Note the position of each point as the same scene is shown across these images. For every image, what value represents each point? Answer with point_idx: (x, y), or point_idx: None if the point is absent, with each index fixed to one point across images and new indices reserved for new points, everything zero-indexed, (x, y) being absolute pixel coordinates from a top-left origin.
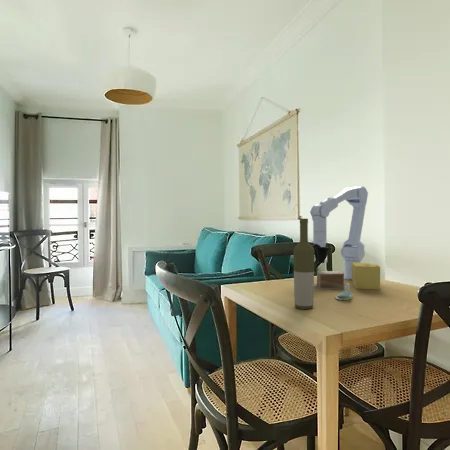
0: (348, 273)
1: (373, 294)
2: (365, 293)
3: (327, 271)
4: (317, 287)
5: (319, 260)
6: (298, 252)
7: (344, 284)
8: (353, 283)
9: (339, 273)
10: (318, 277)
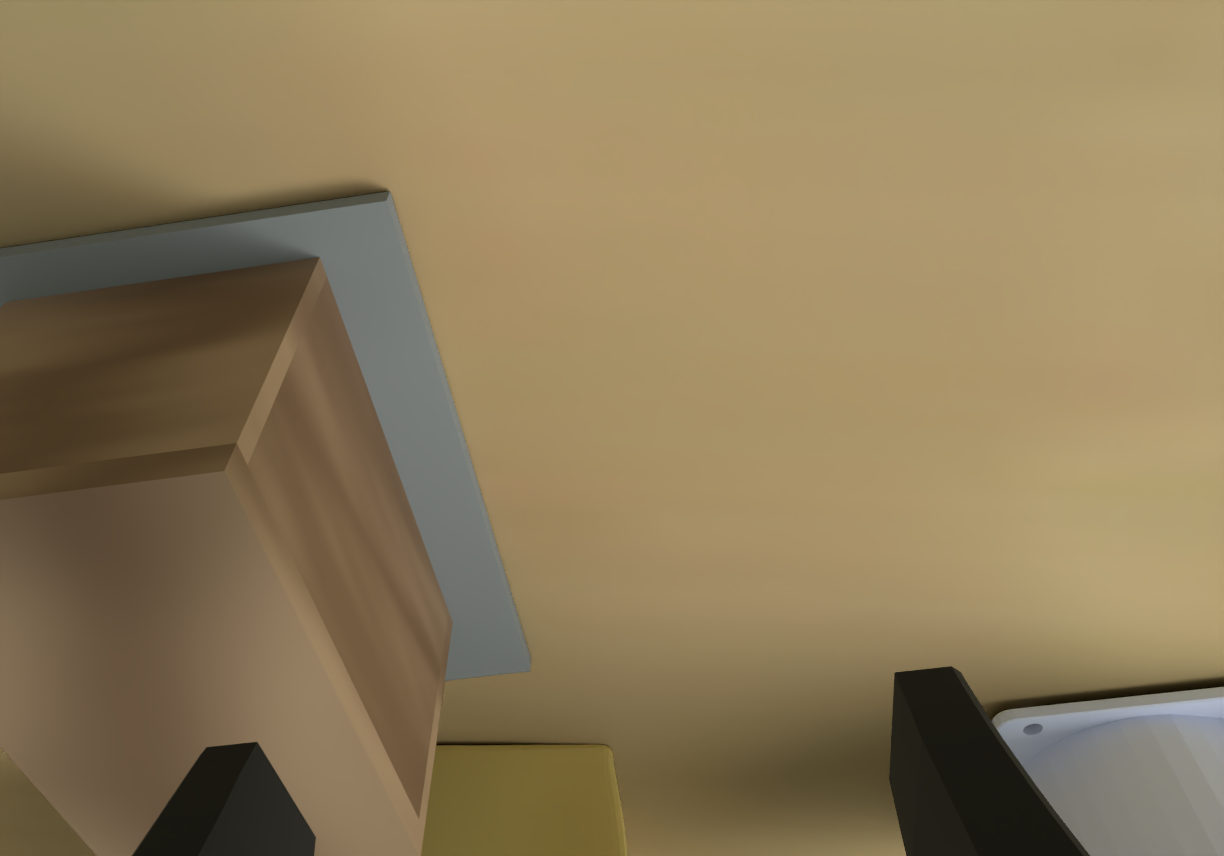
0: (1078, 821)
1: (33, 853)
2: (42, 803)
3: (277, 682)
4: (6, 260)
5: (153, 844)
6: None
7: (512, 670)
8: (476, 779)
9: (95, 839)
10: (40, 409)
